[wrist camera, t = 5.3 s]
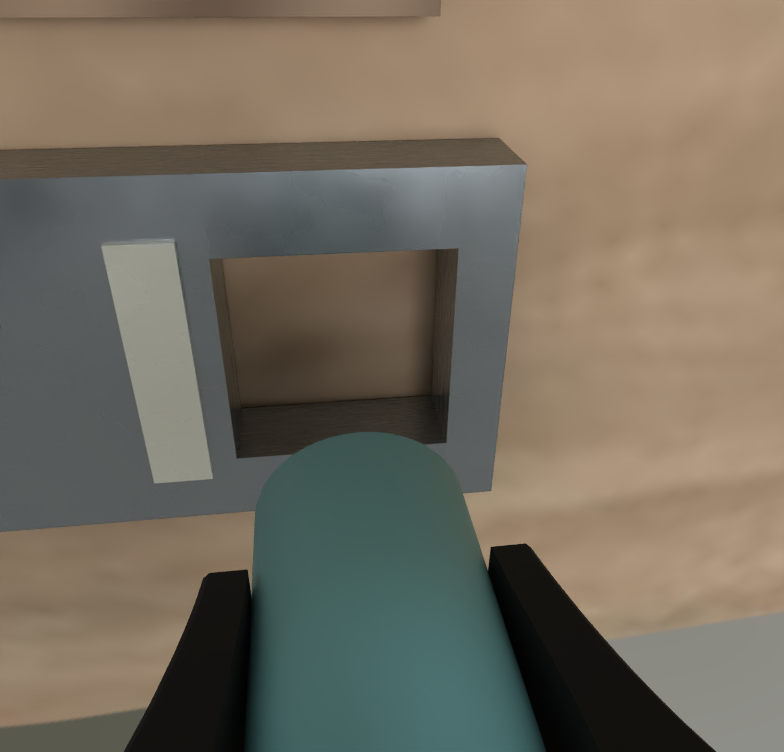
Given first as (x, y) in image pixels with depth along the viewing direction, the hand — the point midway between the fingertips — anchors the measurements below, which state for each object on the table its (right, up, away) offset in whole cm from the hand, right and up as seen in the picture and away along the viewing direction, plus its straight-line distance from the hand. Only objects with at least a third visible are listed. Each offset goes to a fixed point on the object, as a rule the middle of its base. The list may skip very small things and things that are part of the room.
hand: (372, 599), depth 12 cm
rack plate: (-5, +5, +8) cm, 11 cm away
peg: (0, +1, +2) cm, 2 cm away
